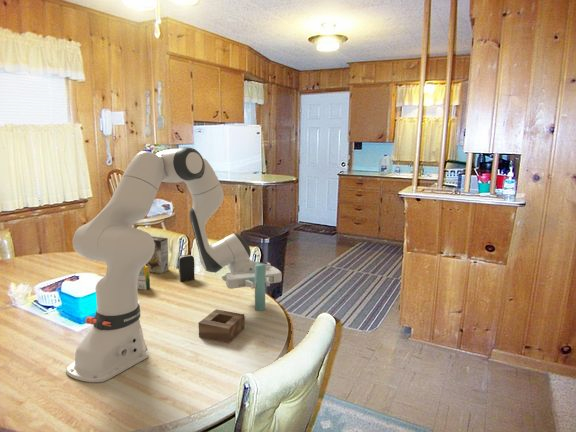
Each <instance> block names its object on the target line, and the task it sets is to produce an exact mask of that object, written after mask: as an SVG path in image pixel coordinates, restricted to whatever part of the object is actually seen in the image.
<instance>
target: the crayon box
mask: <svg viewBox="0 0 576 432" xmlns="http://www.w3.org/2000/svg"><path fill="white" fill-rule="evenodd" d="M150 288H151V282H150V272H149V266H146V265H144V266H143V267H142V269H141V271H140V273H139V276H138V282H137V290H138V289H139V290H144V291H147V290H148V289H150Z"/></svg>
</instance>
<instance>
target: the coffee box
mask: <svg viewBox="0 0 576 432" xmlns="http://www.w3.org/2000/svg"><path fill="white" fill-rule="evenodd" d="M151 236H152V238H153V240H154V244H155V250H154V254H153V256H152V258H151V259H150V261H149V262H148V263H147V264H145V266H149V273H154V272H155V274H164V273H165V272H168V271H169V269H170V268H169V245H168V244H169V242H168V241H169V240H168V239H169V238H168V237H161V236H160V237H158V236H153V235H151Z"/></svg>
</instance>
